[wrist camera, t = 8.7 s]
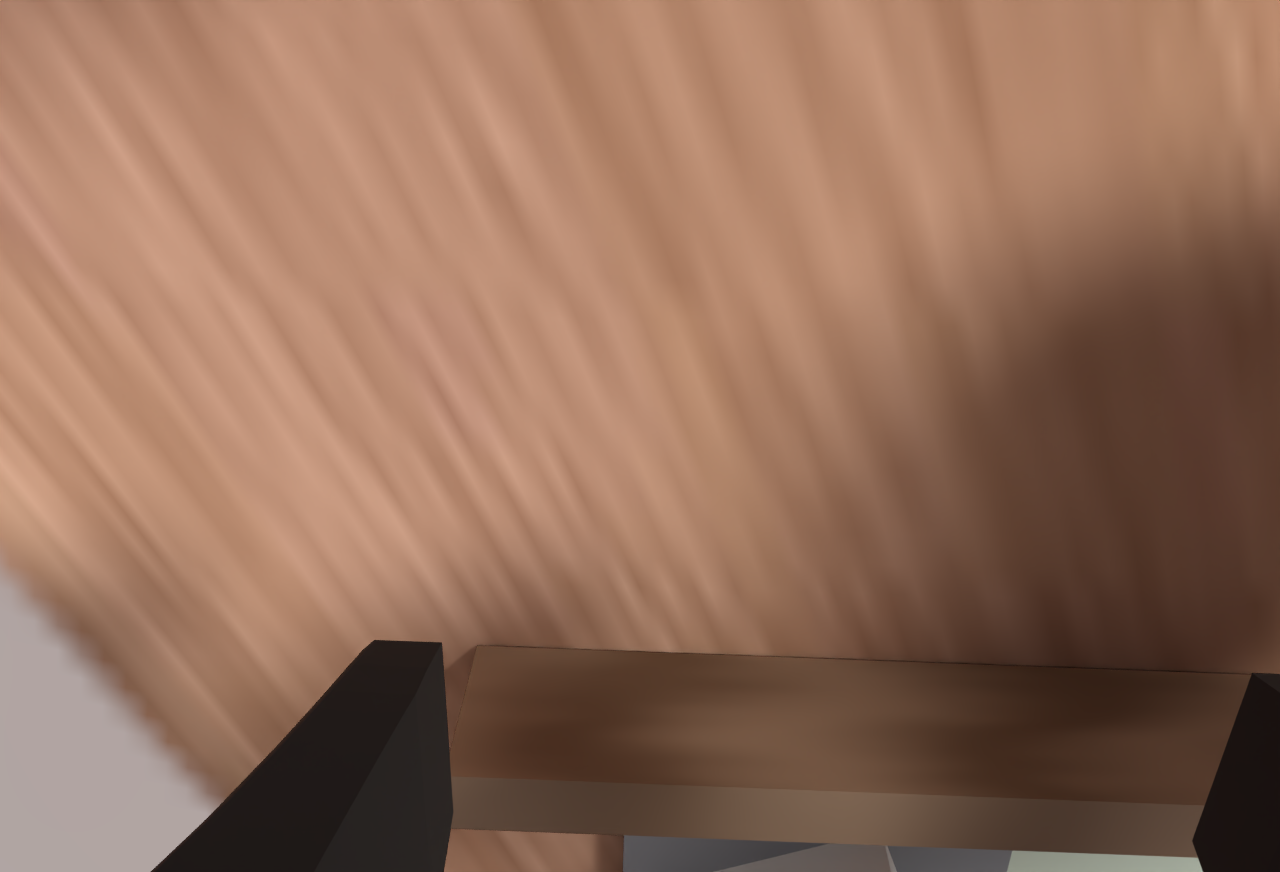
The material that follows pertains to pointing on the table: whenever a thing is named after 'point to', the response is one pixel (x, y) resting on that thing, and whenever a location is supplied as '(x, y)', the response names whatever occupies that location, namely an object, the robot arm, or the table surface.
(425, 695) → the robot arm
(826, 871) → the lettered cube
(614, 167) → the table surface
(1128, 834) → the walnut block
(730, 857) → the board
